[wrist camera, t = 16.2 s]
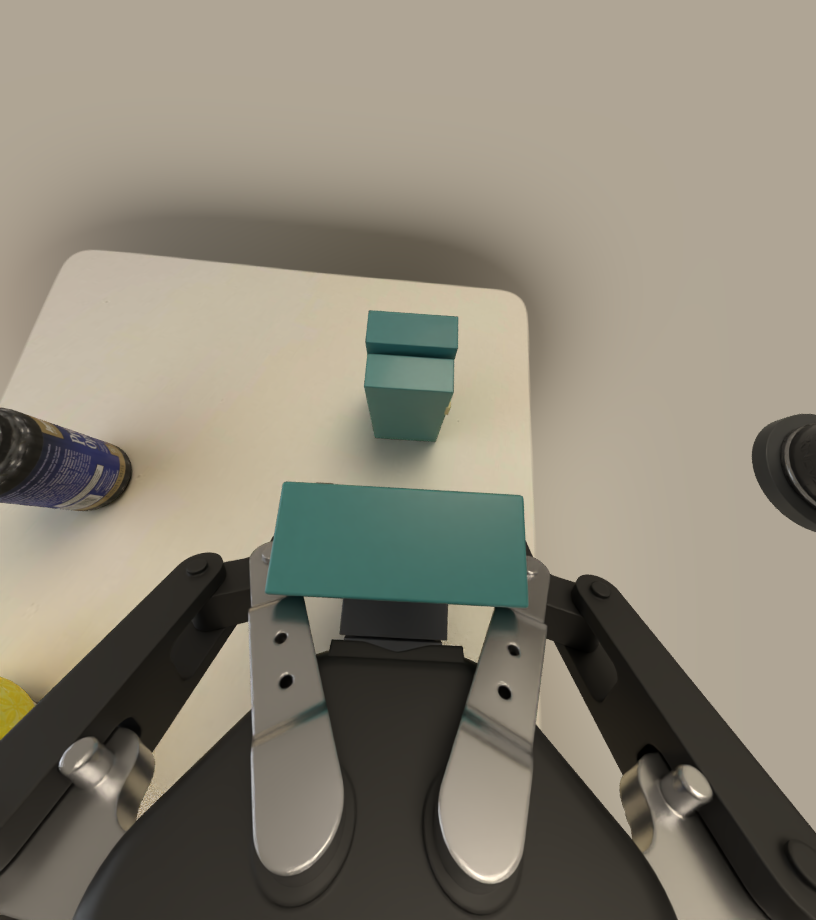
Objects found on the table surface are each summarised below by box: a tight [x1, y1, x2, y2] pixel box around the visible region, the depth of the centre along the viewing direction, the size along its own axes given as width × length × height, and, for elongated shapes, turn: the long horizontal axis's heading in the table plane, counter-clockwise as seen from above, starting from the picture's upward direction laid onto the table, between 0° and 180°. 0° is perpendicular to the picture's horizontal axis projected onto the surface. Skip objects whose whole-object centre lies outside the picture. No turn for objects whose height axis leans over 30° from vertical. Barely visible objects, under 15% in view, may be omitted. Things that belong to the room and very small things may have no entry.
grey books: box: [339, 599, 448, 652], centre depth 21 cm, size 6×8×8 cm
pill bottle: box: [0, 408, 131, 511], centre depth 22 cm, size 6×6×11 cm
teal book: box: [265, 482, 529, 608], centre depth 13 cm, size 6×3×11 cm, turn 87°
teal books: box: [364, 310, 458, 442], centre depth 25 cm, size 6×5×10 cm
